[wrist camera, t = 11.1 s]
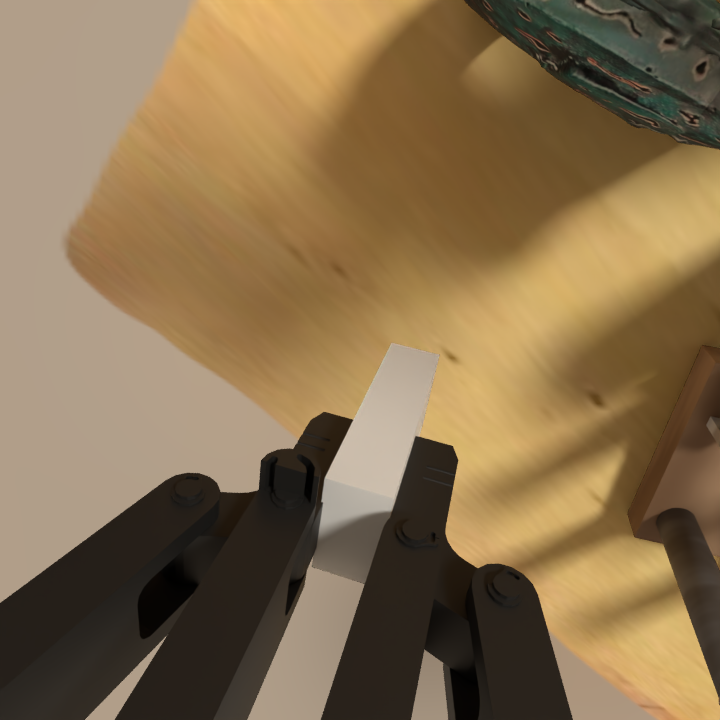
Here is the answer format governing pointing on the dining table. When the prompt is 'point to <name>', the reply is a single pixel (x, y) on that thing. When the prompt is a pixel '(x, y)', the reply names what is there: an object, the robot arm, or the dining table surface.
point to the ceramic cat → (627, 56)
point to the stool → (689, 501)
